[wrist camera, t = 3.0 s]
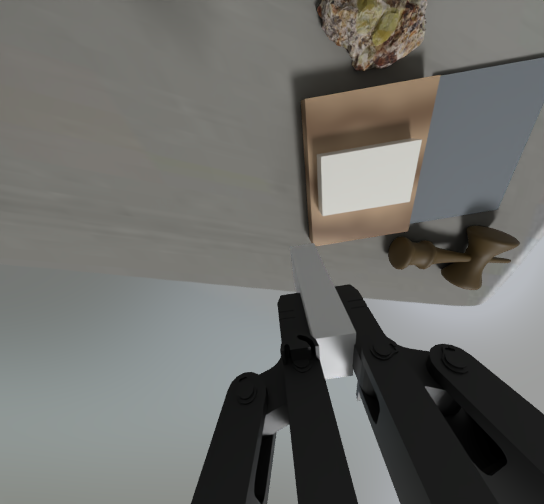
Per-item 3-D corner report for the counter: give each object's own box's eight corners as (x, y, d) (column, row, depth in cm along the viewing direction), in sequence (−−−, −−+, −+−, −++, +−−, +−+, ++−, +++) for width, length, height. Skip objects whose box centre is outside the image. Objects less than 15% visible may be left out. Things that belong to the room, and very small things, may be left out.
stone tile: (316, 154, 25) (321, 156, 23) (410, 138, 25) (422, 139, 23) (318, 210, 29) (322, 216, 27) (400, 196, 28) (409, 201, 27)
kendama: (398, 216, 33) (513, 226, 35) (375, 265, 39) (476, 272, 40) (422, 234, 28) (555, 245, 30) (392, 288, 34) (507, 295, 35)
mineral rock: (460, -49, 18) (426, 63, 20) (421, -3, 22) (396, 86, 24) (339, -92, 17) (316, 33, 19) (322, -35, 21) (305, 62, 23)
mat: (433, 77, 24) (435, 76, 24) (560, 54, 24) (564, 53, 23) (404, 223, 33) (406, 224, 33) (495, 208, 33) (497, 209, 33)
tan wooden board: (300, 100, 24) (305, 98, 22) (424, 78, 24) (440, 74, 22) (309, 238, 34) (313, 246, 32) (398, 224, 33) (407, 231, 31)
